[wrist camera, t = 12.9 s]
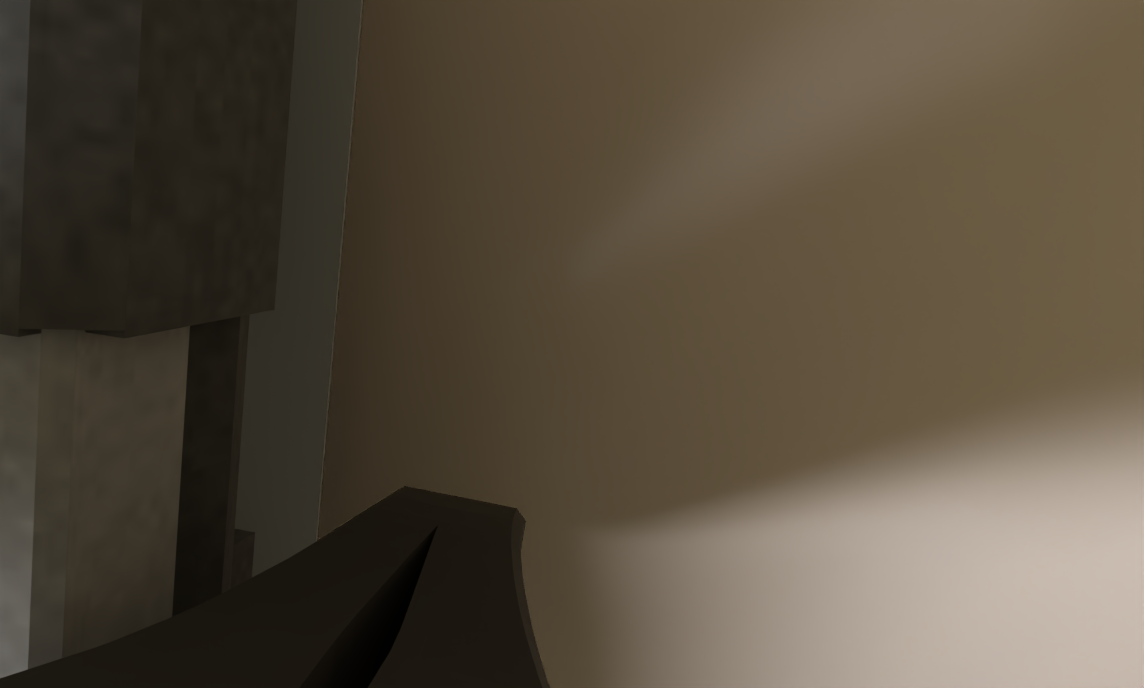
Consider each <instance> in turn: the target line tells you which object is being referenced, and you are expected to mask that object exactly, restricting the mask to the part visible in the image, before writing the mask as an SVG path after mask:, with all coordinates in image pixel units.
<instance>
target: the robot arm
mask: <svg viewBox="0 0 1144 688" xmlns="http://www.w3.org/2000/svg"><path fill="white" fill-rule="evenodd" d="M525 522H526V521H525V519H524V518H523V516H522V515H521V513H520V512H519V511H518V509H517V508H512V507H507V506H502V505H497V504H492V503H487V502H482V501H477V500H472V499H467V498H462V497H457V496H451V495H446V494H441V493H436V492H431V491H426V490H421V489H416V488H411V487H406V486H405V487H403V488H401V489H399V490H398V491H396V492H394V493H393V494H391V495H390V496H388V497H386V498H385V499H383V500H382V501H380V502H378V503H377V504H375V505H374V506H372V507H370V508H369V509H367V510H366V511H364V512H363V513H361V514H359V515H358V516H356V517H355V518H353V519H352V520H350V521H348V522H347V523H345V524H344V525H342V526H341V527H339V528H337V529H336V530H334V531H333V532H331V533H329V534H328V535H326V536H325V537H323V538H321V539H320V540H318V541H316V542H315V543H313V544H311V545H310V546H308V547H306V548H305V549H303V550H301V551H300V552H298V553H296V554H295V555H293V556H291V557H290V558H288V559H286V560H284V561H282V562H281V563H279V564H277V565H275V566H273V567H271V568H269V569H267V570H265V571H264V572H262V573H260V574H258V575H256V576H254V577H252V578H250V579H248V580H246V581H245V582H243V583H241V584H239V585H237V586H235V587H233V588H231V589H229V590H228V591H226V592H224V593H222V594H220V595H218V596H216V597H214V598H212V599H210V600H208V601H206V602H204V603H202V604H200V605H197V606H195V607H193V608H191V609H189V610H186V611H184V612H182V613H180V614H177V615H175V616H173V617H171V618H169V619H166V620H164V621H161V622H159V623H156V624H154V625H151V626H149V627H146V628H144V629H142V630H139V631H137V632H134V633H132V634H129V635H127V636H124V637H122V638H119V639H117V640H114V641H111V642H109V643H106V644H103V645H101V646H98V647H95V648H92V649H89V650H86V651H83V652H80V653H77V654H74V655H71V656H68V657H64V658H61V659H58V660H55V661H52V662H49V663H46V664H43V665H40V666H37V667H34V668H31V669H27V670H24V671H21V672H18V673H15V674H12V675H9V676H6V677H3V678H0V688H550V687H549V684H548V682H547V678H546V675H545V672H544V669H543V665H542V662H541V659H540V656H539V652H538V649H537V645H536V641H535V637H534V633H533V630H532V625H531V620H530V615H529V610H528V605H527V600H526V595H525V590H524V583H523V576H522V564H521V546H522V540H523V534H524V528H525Z"/></svg>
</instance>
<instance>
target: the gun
mask: <svg viewBox="0 0 1144 688" xmlns="http://www.w3.org/2000/svg"><path fill="white" fill-rule="evenodd" d="M296 11H297V0H0V678H3V677H6V676H9V675H12V674H15V673H18V672H21V671H24V670H27V669H31V668H34V667H37V666H40V665H43V664H46V663H49V662H52V661H55V660H58V659H61V658H64V657H68V656H71V655H74V654H77V653H80V652H83V651H86V650H89V649H92V648H95V647H98V646H101V645H103V644H106V643H109V642H111V641H114V640H117V639H119V638H122V637H124V636H127V635H129V634H132V633H134V632H137V631H139V630H142V629H144V628H146V627H149V626H151V625H154V624H156V623H159V622H161V621H164V620H166V619H169V618H171V617H173V616H175V615H177V614H180V613H182V612H184V611H186V610H189V609H191V608H193V607H195V606H197V605H200V604H202V603H204V602H206V601H208V600H210V599H212V598H214V597H216V596H218V595H220V594H222V593H224V592H226V591H228V590H229V589H231V588H233V587H235V586H237V585H239V584H241V583H243V582H245V581H246V580H248V579H250V578H252V568H253V555H254V541H255V532H250V531H245V530H240V529H235V517H236V503H237V489H238V474H239V460H240V446H241V432H242V417H243V403H244V389H245V374H246V360H247V346H248V332H249V317H250V314H255V313H260V312H265V311H270V310H275V297H276V283H277V269H278V256H279V242H280V229H281V215H282V202H283V188H284V174H285V161H286V147H287V134H288V120H289V106H290V93H291V79H292V66H293V52H294V38H295V25H296Z"/></svg>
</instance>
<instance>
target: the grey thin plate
mask: <svg viewBox="0 0 1144 688" xmlns="http://www.w3.org/2000/svg"><path fill="white" fill-rule="evenodd" d="M362 9H363V0H297V11H296V25H295V38H294V52H293V66H292V79H291V93H290V106H289V120H288V134H287V147H286V161H285V174H284V188H283V202H282V215H281V229H280V242H279V256H278V269H277V283H276V297H275V310H270V311H265V312H260V313H255V314H250V317H249V332H248V346H247V360H246V374H245V389H244V403H243V417H242V432H241V446H240V460H239V474H238V489H237V503H236V517H235V529H240V530H245V531H250V532H255V541H254V555H253V568H252V577H254V576H256V575H258V574H260V573H262V572H264V571H265V570H267V569H269V568H271V567H273V566H275V565H277V564H279V563H281V562H282V561H284V560H286V559H288V558H290V557H291V556H293V555H295V554H296V553H298V552H300V551H301V550H303V549H305V548H306V547H308V546H310V545H311V544H313V543H315V542H316V541H317V539H318V527H319V515H320V503H321V492H322V480H323V468H324V456H325V445H326V433H327V421H328V409H329V398H330V386H331V374H332V362H333V351H334V339H335V327H336V315H337V303H338V292H339V280H340V268H341V256H342V245H343V233H344V221H345V209H346V198H347V186H348V174H349V162H350V151H351V139H352V127H353V115H354V104H355V92H356V80H357V68H358V56H359V45H360V33H361V21H362Z"/></svg>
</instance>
